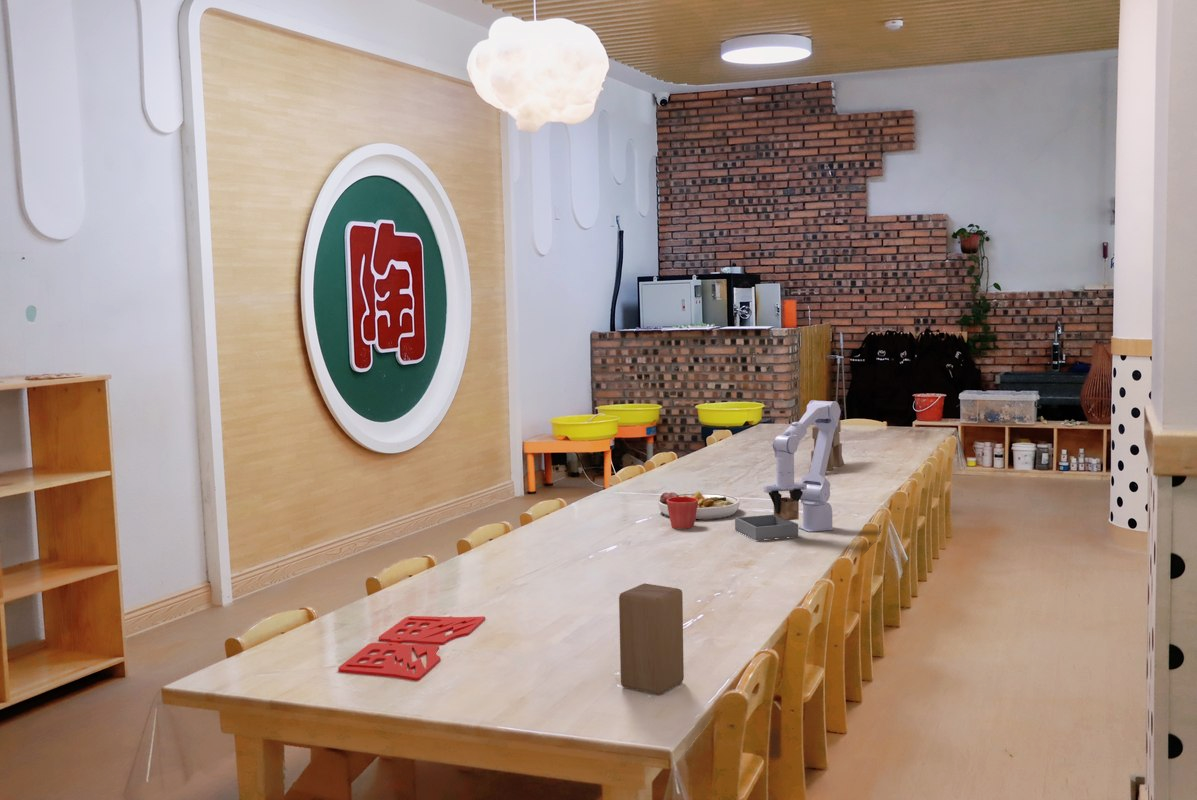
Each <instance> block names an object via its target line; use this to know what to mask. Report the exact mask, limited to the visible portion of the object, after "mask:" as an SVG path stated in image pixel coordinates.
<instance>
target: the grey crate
mask: <svg viewBox="0 0 1197 800" xmlns="http://www.w3.org/2000/svg"><path fill="white" fill-rule="evenodd" d="M798 526H799V523H797V522H795V521H794V520H787V521H784V520H782V519H780V518H777V517H775V516H774V514H766V515H765V514H763V515H762V514H761V515H752V516H751V515H750V516H740V517H739V516H738V517H737V516H736V517H734V531H735V530H736V532H737V531H738V532H737V533H739V532H740V533H739V534H741V533H742V534H741V535H743V534H744V535H743V536H745V535H746V536H745V537H747V536H748V537H747V538H749V537H750V538H749V539H751V538H752V539H754V540H763V541H765V540H764V539H774V540H776V539H775V538H786V539H788V538H787V537H797V538H799V527H798ZM752 539H751V540H752ZM754 540H753V541H754Z"/></svg>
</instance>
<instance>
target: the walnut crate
mask: <svg viewBox="0 0 1197 800" xmlns="http://www.w3.org/2000/svg"><path fill="white" fill-rule="evenodd" d="M799 502H800V500H799V501H796V500H794V499H791V498H790V496H783V497H782V496H781V502H780V514H777V513H775V508H774V507H773V515H774V516H775V517H777V518H780V519H782V520H784V521H787V520H790V521H797V520H799V518H800V517H799V512H800V511H799V508H800V507H799Z"/></svg>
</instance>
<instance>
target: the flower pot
mask: <svg viewBox="0 0 1197 800" xmlns="http://www.w3.org/2000/svg"><path fill="white" fill-rule="evenodd" d="M667 506H668V512H669V516H668V517H669V521H670V525H671V527H672V528H673V529H676V528H679V529H678V530H686V529H687V528H688V529H693V528H694V527H695V521H696V520H695V517H696V512H697V506H698V499H696V498H692V497H672V498H668V499H667ZM692 527H693V528H692Z"/></svg>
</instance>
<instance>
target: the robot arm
mask: <svg viewBox="0 0 1197 800" xmlns="http://www.w3.org/2000/svg"><path fill="white" fill-rule="evenodd" d="M841 412H842V411H841V408H840V404H839V403H838V401H836V400H834V401H830V400H829V401H827V400H815V399H812V400H810V401H809V402H808V404H807V405H806V411H805V412H804V414H803V415H802V416H801V418H800V419H799V421H792V423H791V424H790V426H789V427H788V428H787V429H786V430H784V432H783V433H782V434H778V435H777V436H775V437H774V439H773V441H772V445H771V446H772V450H773V452H774V457H775V459H776V461H775V462H776V469H775V470H776V484H771V485H764V486H763V493H766V494H768V495H769V498H770V499H771V501H772V504H773V509H774V508H775V513H777V514H780V502H781V497H782V496H783V494H781V493H780V492H788V493H789V498H791V499H794V500H796V501H799V502H800V503H801V504H802V525H798V529H801V530H803V531H805V532H821V531H822V532H823V531H833V530H834V528H833V509H832V508H833V507H832V505H831V504H830V503H829V502H828V501H829V500H830V496H831V491H830V490H831V482H830V481H829V480H828V479H827V477H826V474H825V472H826V473H827V471H826V468H827V463H828V459H829V454H830V450H831V445H832V441H833V436H834V432H835V428H836V427H837V426H838V422H839V421H840V418H841V417H840V416H841V414H842V413H841ZM811 425H813V426H817V427H818V429H819V433H818V437H817V441H816V446H815V450H814V449H813V450H814V455H813V459H812V463H811V464H810V465H811V468H810V467H809V470H810V472H809V471H808V474H807V475H805V476H803V477H801V480H800V483H799V482H798V483H795V453H796V452H797V451H798V447H799V444H800V442H801V441H802V440H803V438H804V437H805V436H806V435H807V430H808V428H809V427H810V426H811Z"/></svg>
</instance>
